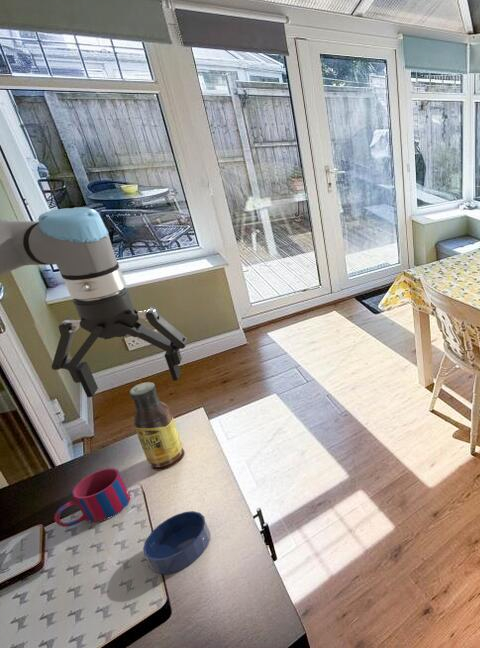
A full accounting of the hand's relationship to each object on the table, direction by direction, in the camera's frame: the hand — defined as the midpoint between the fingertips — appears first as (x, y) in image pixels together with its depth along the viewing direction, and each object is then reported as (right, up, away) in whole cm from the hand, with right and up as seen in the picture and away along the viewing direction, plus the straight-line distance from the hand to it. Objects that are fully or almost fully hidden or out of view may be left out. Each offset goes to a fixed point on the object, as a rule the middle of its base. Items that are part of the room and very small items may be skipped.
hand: (136, 384), depth 84 cm
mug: (-4, -24, -3) cm, 25 cm away
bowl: (+16, -28, -9) cm, 33 cm away
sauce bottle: (0, -19, +8) cm, 21 cm away
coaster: (-1, -19, +9) cm, 21 cm away
